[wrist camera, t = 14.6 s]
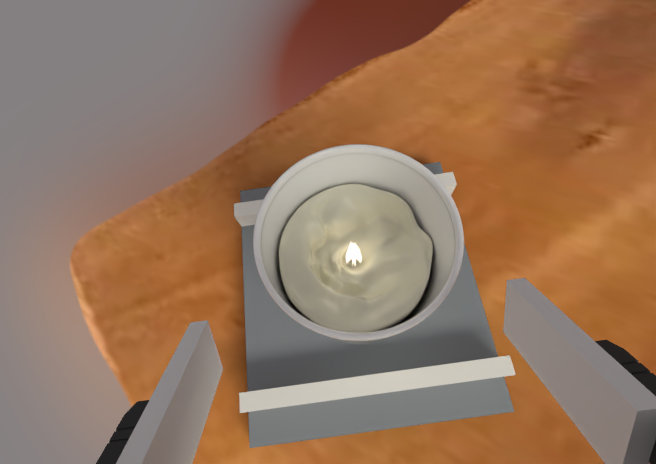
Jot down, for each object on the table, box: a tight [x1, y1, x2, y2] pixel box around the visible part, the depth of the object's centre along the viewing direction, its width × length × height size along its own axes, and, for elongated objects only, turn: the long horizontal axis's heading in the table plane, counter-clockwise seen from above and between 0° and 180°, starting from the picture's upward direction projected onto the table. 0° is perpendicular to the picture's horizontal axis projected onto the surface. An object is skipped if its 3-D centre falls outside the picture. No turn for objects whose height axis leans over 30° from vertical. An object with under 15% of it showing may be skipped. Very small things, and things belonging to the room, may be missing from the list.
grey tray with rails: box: [234, 162, 516, 448], centre depth 27 cm, size 20×18×4 cm
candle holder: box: [253, 144, 464, 345], centre depth 22 cm, size 10×10×12 cm
